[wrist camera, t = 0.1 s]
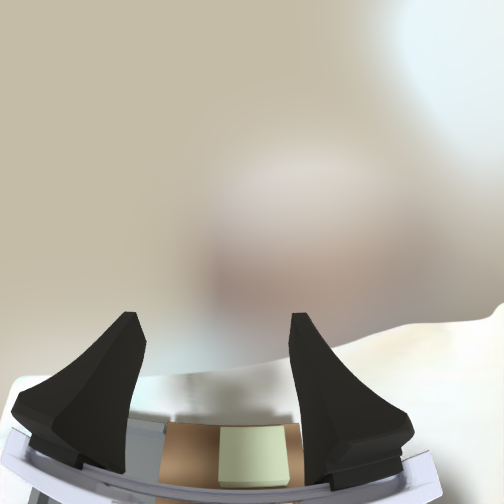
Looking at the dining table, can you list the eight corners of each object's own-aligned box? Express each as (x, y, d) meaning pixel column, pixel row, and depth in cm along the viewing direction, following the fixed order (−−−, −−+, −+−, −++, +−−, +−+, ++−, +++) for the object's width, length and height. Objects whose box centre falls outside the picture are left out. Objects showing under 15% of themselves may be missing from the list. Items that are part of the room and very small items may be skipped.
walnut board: (312, 570, 10) (319, 572, 8) (158, 566, 9) (148, 567, 8) (295, 434, 26) (298, 422, 25) (173, 433, 26) (168, 421, 24)
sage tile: (286, 485, 18) (289, 479, 17) (220, 487, 18) (218, 481, 17) (281, 435, 23) (283, 425, 22) (222, 437, 23) (220, 426, 22)
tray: (153, 565, 9) (144, 565, 8) (38, 519, 9) (25, 513, 8) (169, 432, 26) (164, 423, 25) (73, 412, 25) (64, 402, 24)
